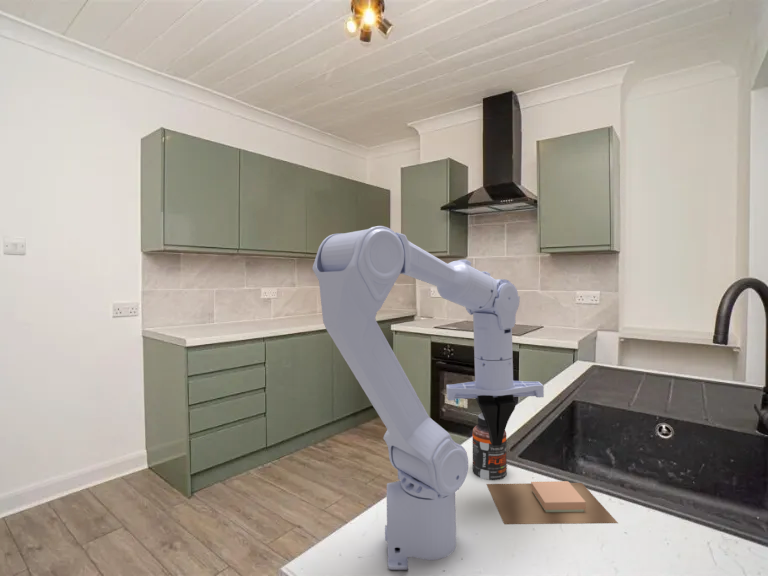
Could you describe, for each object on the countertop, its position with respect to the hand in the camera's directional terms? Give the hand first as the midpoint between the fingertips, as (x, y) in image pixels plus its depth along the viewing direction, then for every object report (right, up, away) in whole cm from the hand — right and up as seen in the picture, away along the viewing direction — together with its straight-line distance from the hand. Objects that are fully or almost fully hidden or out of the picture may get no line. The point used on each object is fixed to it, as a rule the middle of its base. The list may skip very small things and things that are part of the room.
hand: (495, 443), depth 63 cm
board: (+8, -10, 0) cm, 13 cm away
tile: (+6, -8, 0) cm, 10 cm away
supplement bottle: (+2, -10, +10) cm, 14 cm away
